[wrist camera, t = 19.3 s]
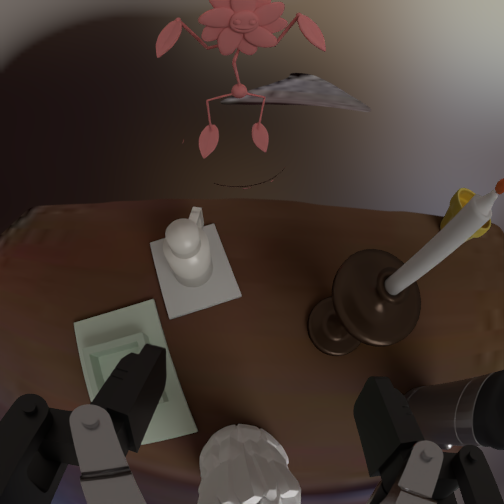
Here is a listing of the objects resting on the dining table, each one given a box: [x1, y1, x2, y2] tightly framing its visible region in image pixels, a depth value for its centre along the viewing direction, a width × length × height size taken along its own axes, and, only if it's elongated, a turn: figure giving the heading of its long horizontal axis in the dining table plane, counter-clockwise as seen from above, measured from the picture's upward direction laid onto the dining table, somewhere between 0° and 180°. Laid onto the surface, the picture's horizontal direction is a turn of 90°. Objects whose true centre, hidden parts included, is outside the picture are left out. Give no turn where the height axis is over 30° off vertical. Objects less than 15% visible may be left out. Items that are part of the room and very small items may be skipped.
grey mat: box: [150, 224, 242, 319], centre depth 42 cm, size 13×11×1 cm
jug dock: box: [74, 299, 198, 445], centre depth 33 cm, size 20×14×4 cm
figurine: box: [156, 0, 326, 187], centre depth 39 cm, size 15×26×35 cm, turn 98°
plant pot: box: [440, 188, 491, 241], centre depth 47 cm, size 10×10×10 cm
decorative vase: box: [197, 424, 301, 504], centre depth 19 cm, size 11×11×25 cm
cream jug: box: [163, 207, 213, 287], centre depth 38 cm, size 9×6×10 cm
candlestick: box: [307, 179, 504, 356], centre depth 25 cm, size 11×11×35 cm
